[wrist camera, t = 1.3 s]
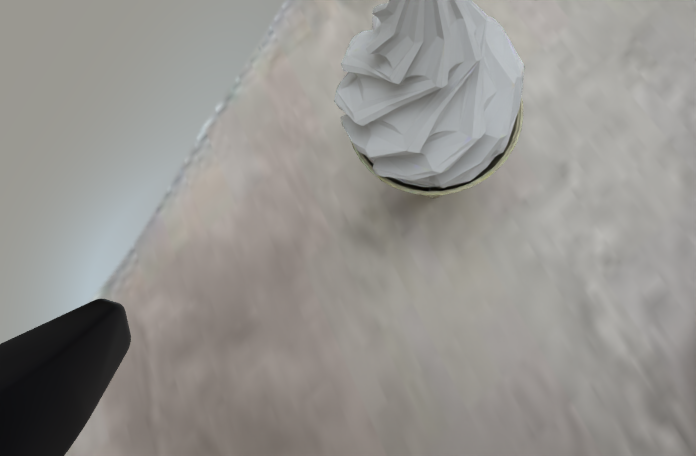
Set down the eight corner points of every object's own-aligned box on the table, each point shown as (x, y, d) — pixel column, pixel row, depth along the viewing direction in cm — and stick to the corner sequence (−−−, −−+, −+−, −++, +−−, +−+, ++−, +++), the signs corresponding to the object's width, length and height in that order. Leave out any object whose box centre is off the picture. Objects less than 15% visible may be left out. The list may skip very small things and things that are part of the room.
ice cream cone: (356, 167, 25) (246, -104, 10) (462, 118, 25) (498, -227, 10) (403, 270, 24) (351, 122, 9) (516, 220, 23) (645, -13, 9)
